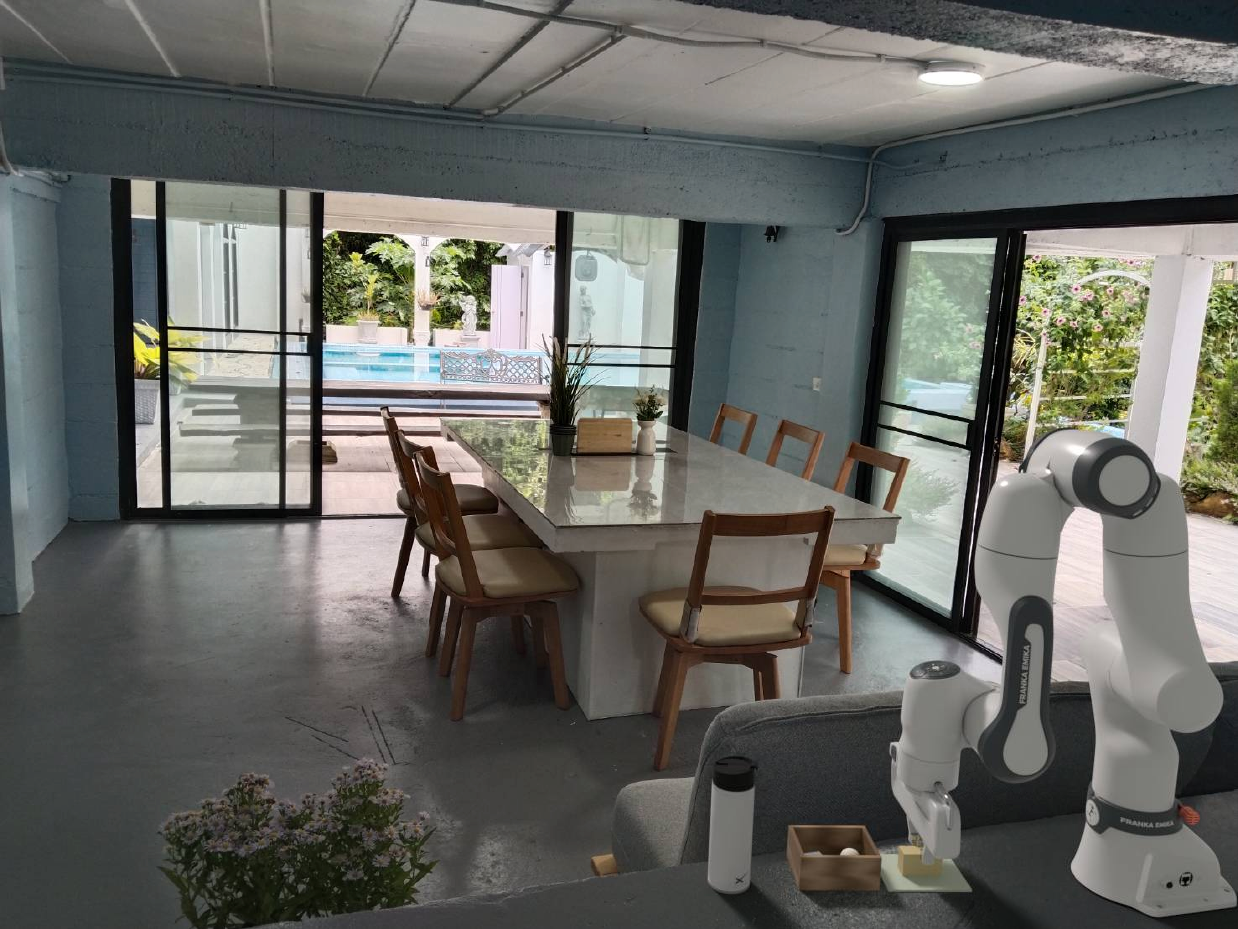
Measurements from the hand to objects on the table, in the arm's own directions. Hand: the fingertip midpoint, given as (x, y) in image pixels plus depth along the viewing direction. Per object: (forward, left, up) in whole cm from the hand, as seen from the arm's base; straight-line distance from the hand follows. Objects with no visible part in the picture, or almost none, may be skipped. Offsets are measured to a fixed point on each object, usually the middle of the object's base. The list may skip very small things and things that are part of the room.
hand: (920, 853), depth 148 cm
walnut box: (+14, 0, -4) cm, 14 cm away
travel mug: (+30, +3, -4) cm, 30 cm away
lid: (0, 0, -4) cm, 4 cm away
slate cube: (+17, +1, -3) cm, 17 cm away
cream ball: (+11, -1, -3) cm, 11 cm away
